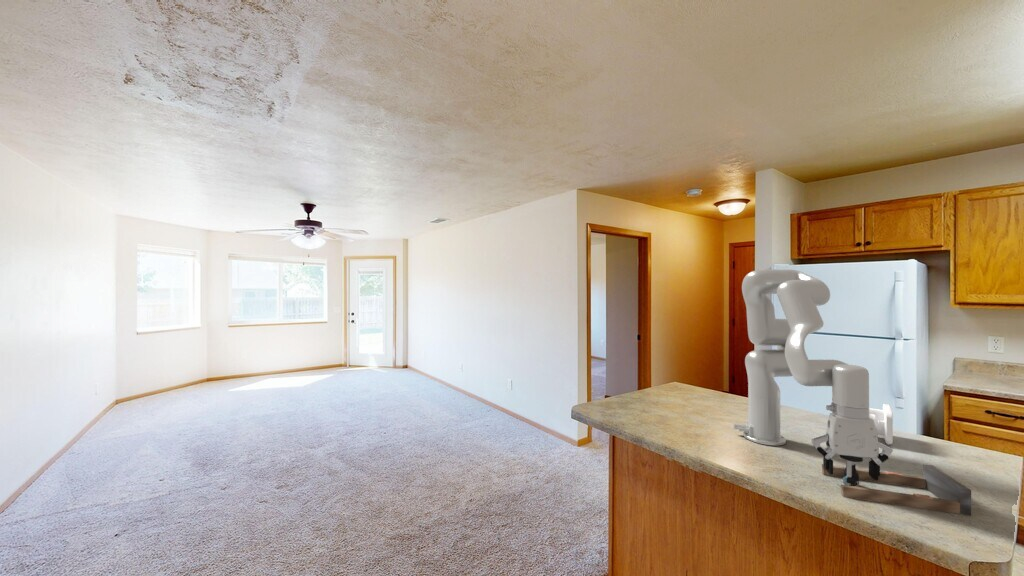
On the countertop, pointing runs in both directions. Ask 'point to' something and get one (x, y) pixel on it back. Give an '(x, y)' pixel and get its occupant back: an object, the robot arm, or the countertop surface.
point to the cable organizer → (883, 422)
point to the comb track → (933, 480)
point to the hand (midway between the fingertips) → (850, 475)
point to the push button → (851, 470)
